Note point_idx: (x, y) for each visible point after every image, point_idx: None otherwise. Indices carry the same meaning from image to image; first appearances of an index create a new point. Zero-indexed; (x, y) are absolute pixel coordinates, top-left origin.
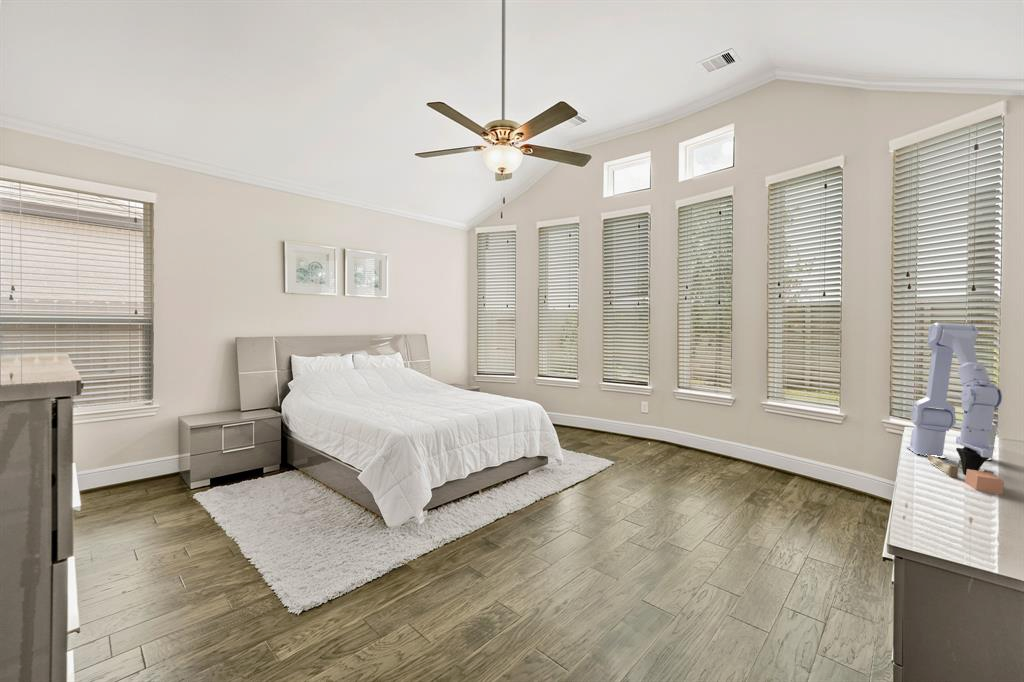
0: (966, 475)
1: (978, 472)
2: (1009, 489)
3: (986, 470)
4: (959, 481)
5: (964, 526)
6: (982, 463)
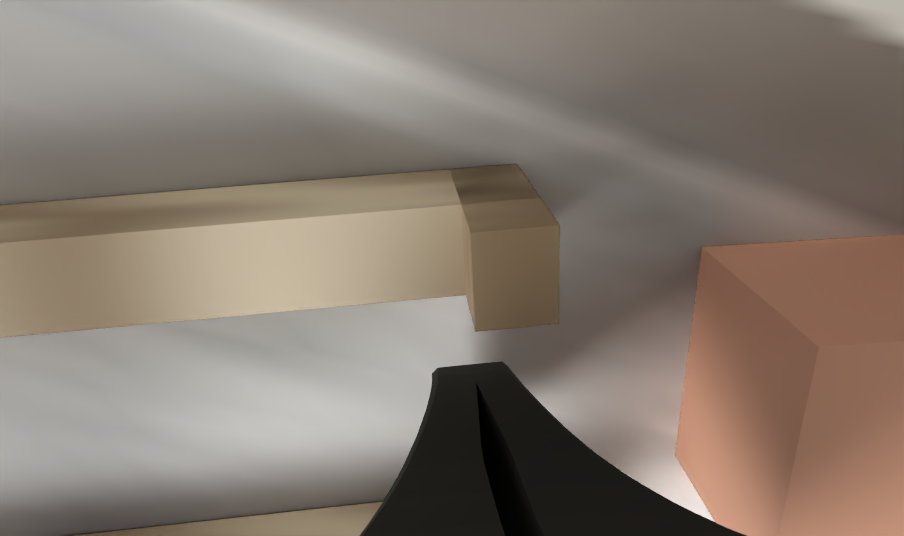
0: (727, 522)
1: (893, 518)
2: (696, 23)
3: (499, 306)
4: (665, 494)
5: None
6: (646, 492)
